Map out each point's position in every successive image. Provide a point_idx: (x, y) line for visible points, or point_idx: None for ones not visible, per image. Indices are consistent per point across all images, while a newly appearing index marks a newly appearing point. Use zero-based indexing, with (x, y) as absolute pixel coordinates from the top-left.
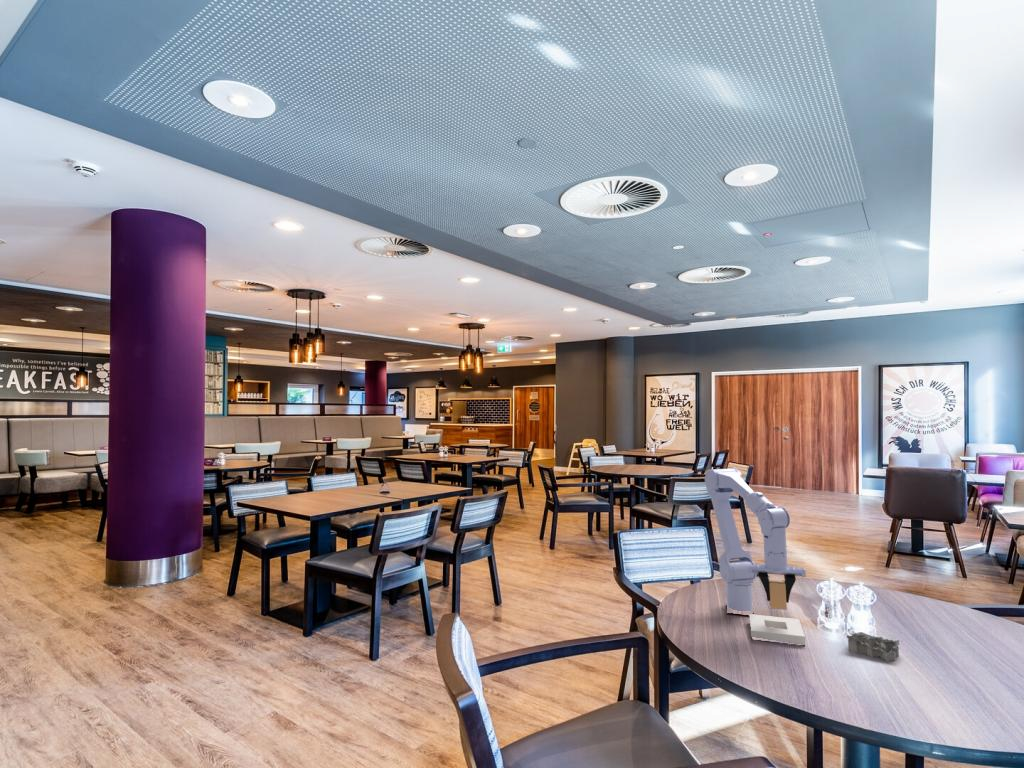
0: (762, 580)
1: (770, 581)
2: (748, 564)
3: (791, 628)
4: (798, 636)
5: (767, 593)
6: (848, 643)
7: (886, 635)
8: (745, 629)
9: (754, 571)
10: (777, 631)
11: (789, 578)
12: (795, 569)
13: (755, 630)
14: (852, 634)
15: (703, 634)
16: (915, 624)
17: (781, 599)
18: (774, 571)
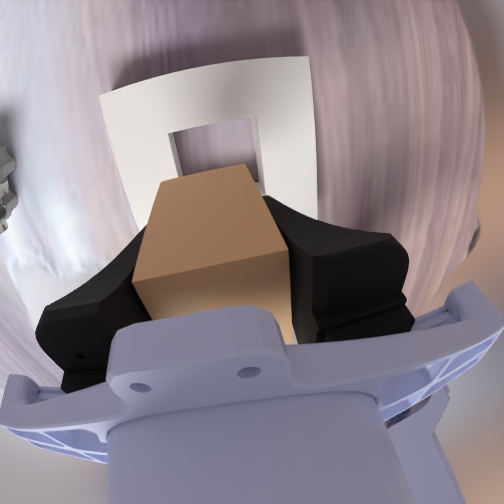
0: (364, 235)
1: (278, 291)
2: (474, 364)
3: (155, 153)
4: (121, 88)
5: (280, 207)
6: (5, 164)
7: (7, 294)
8: (319, 150)
9: (436, 320)
10: (204, 88)
11: (66, 321)
12: (64, 440)
13: (292, 62)
14: (4, 217)
15: (424, 70)
16: (17, 354)
17: (182, 199)
18: (254, 336)
